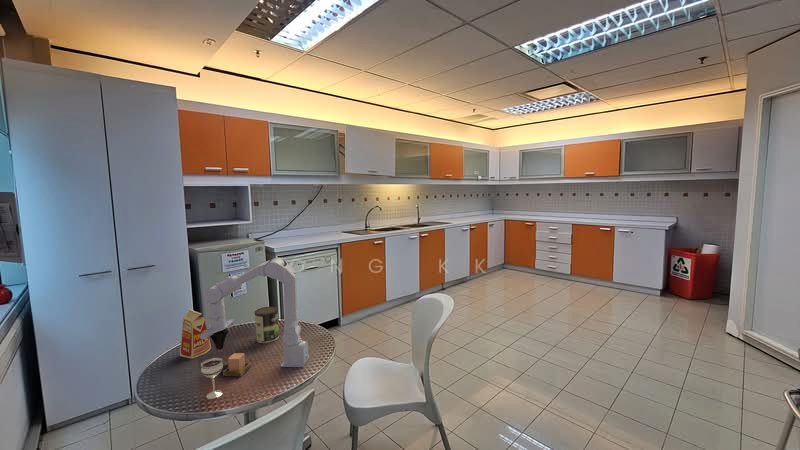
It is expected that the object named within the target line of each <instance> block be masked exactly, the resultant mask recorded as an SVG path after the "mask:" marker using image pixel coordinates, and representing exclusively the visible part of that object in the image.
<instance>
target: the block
mask: <svg viewBox="0 0 800 450" xmlns="http://www.w3.org/2000/svg"><path fill="white" fill-rule="evenodd" d="M245 362H246V355H245V352H244V353H241V352H240V353H236V352H235V353H232V355H230V356H229V357H228V358H227V363H228V367H229V372H241V371H242V370H243V369H244V368H245V367H246V366H245Z"/></svg>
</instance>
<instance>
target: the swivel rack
mask: <svg viewBox="0 0 800 450" xmlns="http://www.w3.org/2000/svg"><path fill="white" fill-rule="evenodd" d="M222 363H223V369H222V371H221V372H222V376H223V377H243V375H244V374H245V373H246V372H247V371H248V370H249V369H250V368H251V367H252V363H251V362H247V361H245V366H246V367H245V368H244V369H243V370H242V371H241V372H229V367H228V362H222ZM221 372H220V373H221Z"/></svg>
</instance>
